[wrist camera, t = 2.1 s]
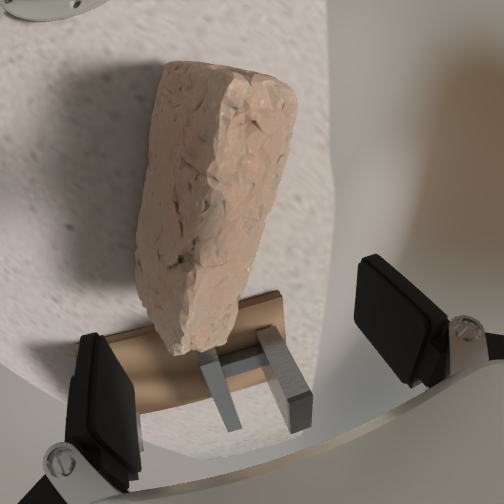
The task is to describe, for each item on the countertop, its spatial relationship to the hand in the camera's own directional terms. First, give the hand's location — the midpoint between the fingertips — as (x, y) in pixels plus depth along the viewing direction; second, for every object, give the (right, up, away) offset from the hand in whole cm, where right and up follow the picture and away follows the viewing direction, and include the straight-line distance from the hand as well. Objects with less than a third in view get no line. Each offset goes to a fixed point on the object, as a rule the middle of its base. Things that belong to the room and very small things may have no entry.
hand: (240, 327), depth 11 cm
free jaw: (-1, -8, +20) cm, 21 cm away
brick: (-4, +7, +11) cm, 14 cm away
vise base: (-6, -8, +20) cm, 22 cm away
